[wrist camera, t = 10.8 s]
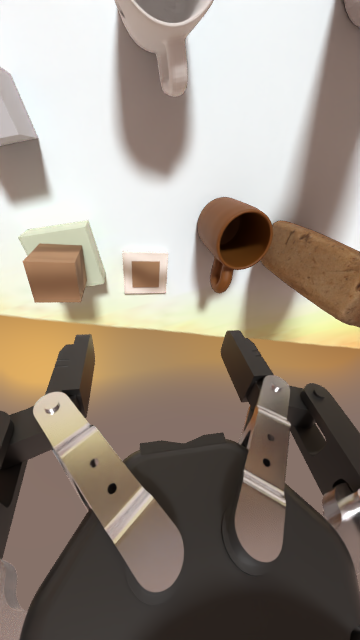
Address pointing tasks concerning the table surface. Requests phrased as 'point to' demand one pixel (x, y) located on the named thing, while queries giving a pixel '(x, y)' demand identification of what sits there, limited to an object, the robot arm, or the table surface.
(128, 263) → the tile
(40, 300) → the walnut block
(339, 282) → the brown tall piece
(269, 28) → the table surface
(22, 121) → the grey block
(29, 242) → the base block
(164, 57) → the mug
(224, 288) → the mug
